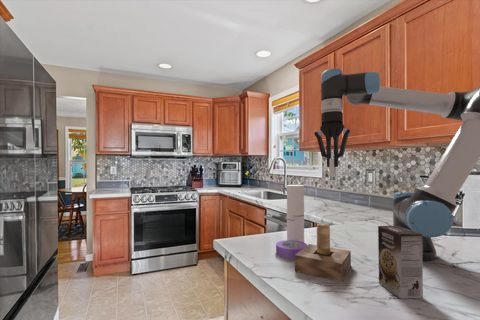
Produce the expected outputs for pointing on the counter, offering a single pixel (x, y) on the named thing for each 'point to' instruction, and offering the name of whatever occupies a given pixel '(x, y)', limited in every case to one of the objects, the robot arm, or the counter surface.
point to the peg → (323, 239)
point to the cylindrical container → (295, 212)
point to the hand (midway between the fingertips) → (332, 176)
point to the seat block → (323, 262)
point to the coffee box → (400, 261)
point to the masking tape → (289, 248)
